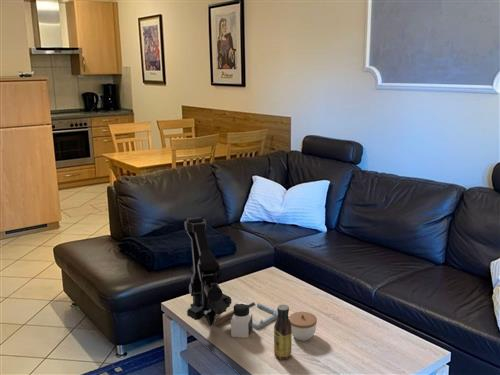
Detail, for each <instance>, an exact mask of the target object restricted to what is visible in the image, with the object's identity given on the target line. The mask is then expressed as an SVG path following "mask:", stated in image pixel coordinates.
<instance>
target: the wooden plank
mask: <svg viewBox="0 0 500 375" xmlns="http://www.w3.org/2000/svg"><path fill="white" fill-rule="evenodd" d="M233 315H234V309H233V310H232V311H229V312H227V313H225V314H223V315H221V316H219V317H217V318H216V319H215V322H216V324H215V325H217V326H218V325H220V324H222V323H224V322H226V321H228V320H229V319H230V320H231V319H232V317H233Z"/></svg>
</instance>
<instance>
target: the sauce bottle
mask: <svg viewBox="0 0 500 375" xmlns="http://www.w3.org/2000/svg"><path fill="white" fill-rule="evenodd" d="M276 311H278V318H276V319H275V320H276V321H275V323H274V325H273V326H274V327H273V345H274V346H273V353H274V357H275V358H276V359H277V360H279V361H282V360H283V361H285V360H289V359H290V358H291V355H292V344H293V343H292V337H293V335H292V330H291V322H290V320H289V311H290V306H289V305H287V304H279V305H278V306H277V310H276Z"/></svg>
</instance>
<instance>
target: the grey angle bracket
mask: <svg viewBox="0 0 500 375" xmlns="http://www.w3.org/2000/svg"><path fill="white" fill-rule="evenodd" d="M256 306H257V308H259V309H261V310H263V311H265V312H268V313H269V314H272V315H270V316H269V317H267V318H264V319H259V321H260V322H258V323H257V322H255V321H252V325H253V328H254V329H256V330H257V329H260V328H262V327H264V326H265V325H267V324H268V323H271V322H273V320H277V318H278V311H277V310H275V309H274V308H271V307H269V306H267V305H264V304H263V303H260V302H258V303H257V304H256Z"/></svg>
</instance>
